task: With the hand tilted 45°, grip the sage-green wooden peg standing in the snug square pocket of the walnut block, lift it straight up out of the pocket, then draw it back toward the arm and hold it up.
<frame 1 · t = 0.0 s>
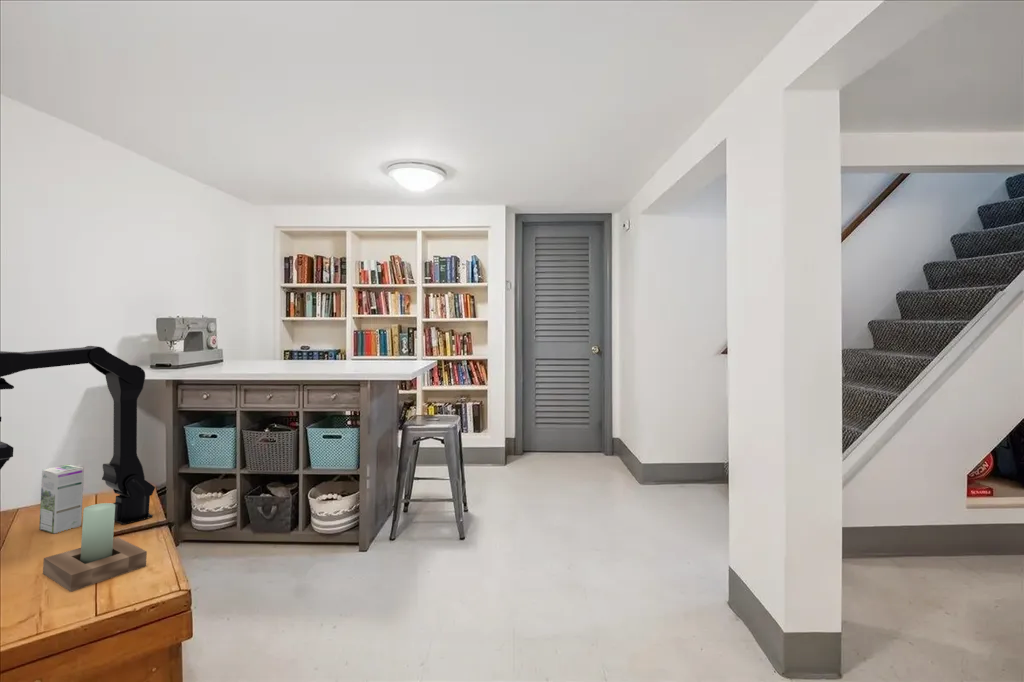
peg: (95, 569, 94), resting on pocket block
syrup box: (60, 528, 113), on the table
pocket block: (95, 572, 94), on the table
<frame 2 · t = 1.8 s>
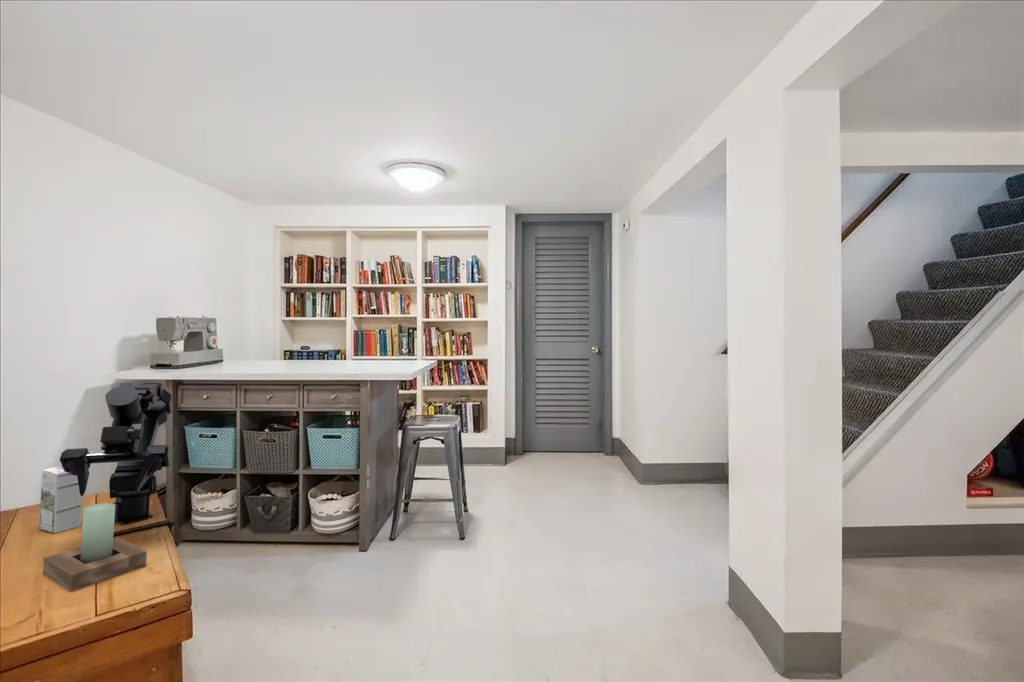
hand: (109, 492, 101), 14 cm above the table, tool tilted 45°, fingers open, 9 cm apart
nothing on the table moved.
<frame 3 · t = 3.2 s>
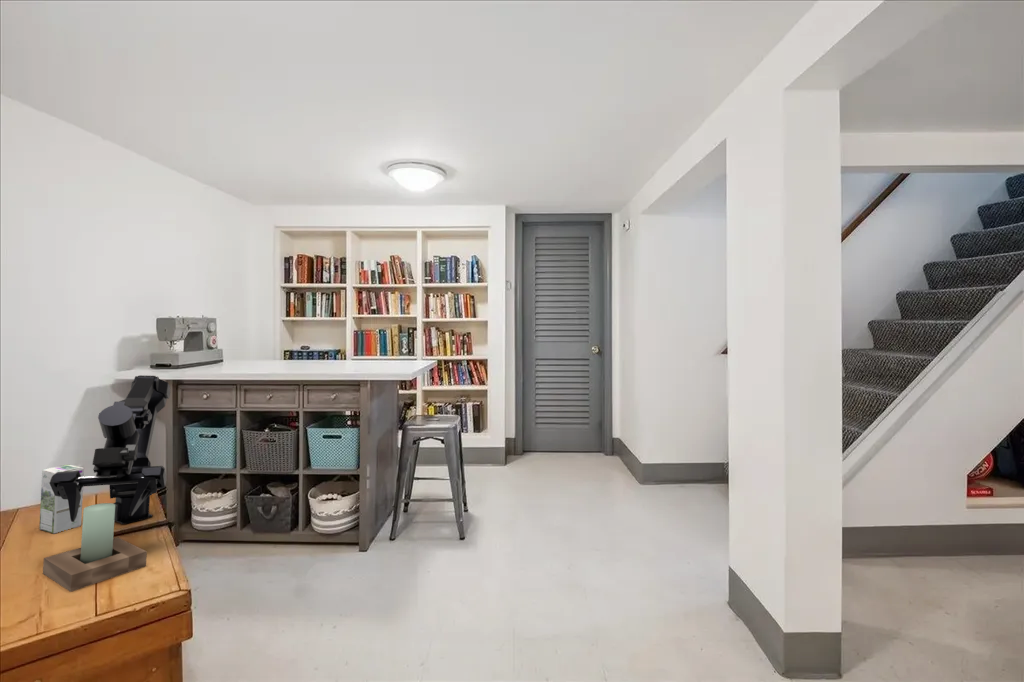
hand: (102, 518, 96), 10 cm above the table, tool tilted 45°, fingers open, 9 cm apart
nothing on the table moved.
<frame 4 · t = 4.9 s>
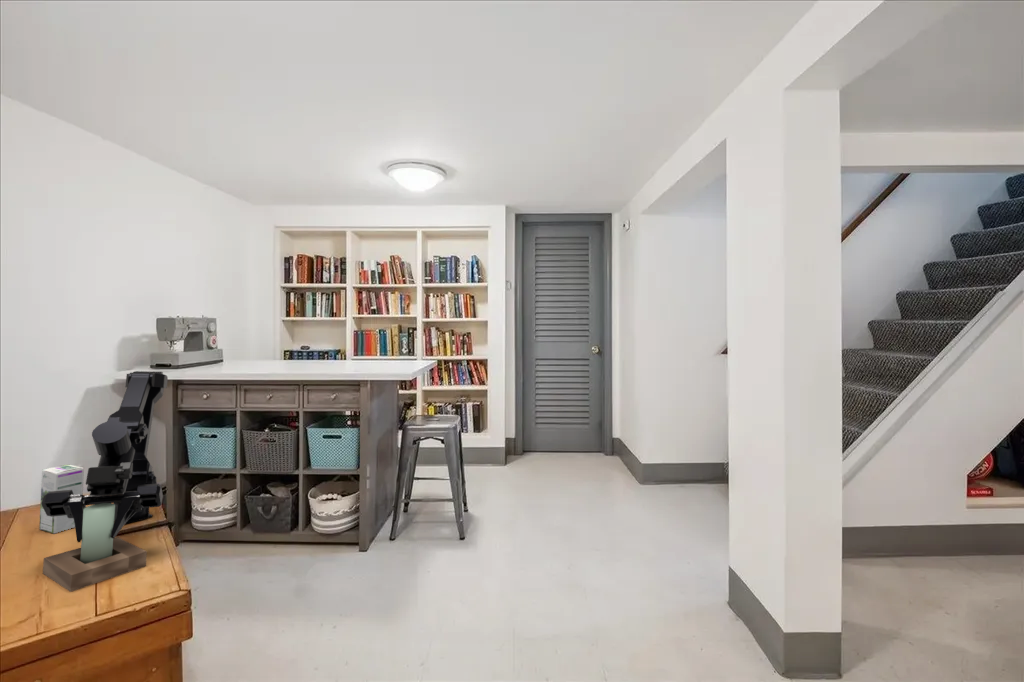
hand: (95, 539, 93), 7 cm above the table, tool tilted 45°, fingers closed on peg, 5 cm apart
peg: (95, 569, 94), resting on pocket block, touching gripper
everything else where it was.
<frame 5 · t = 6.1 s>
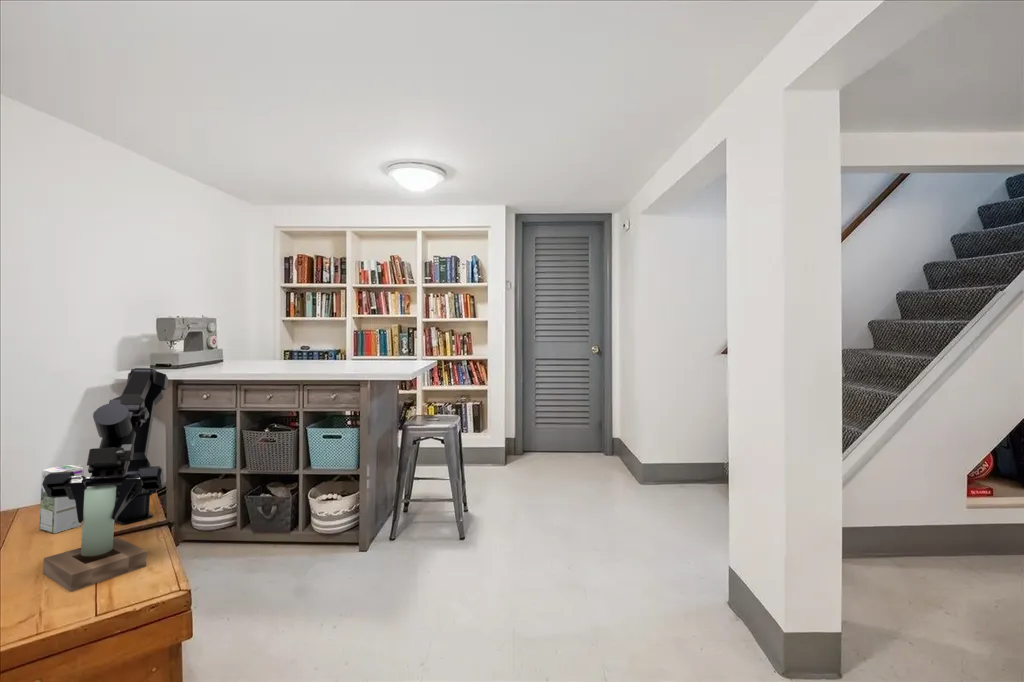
hand: (96, 520, 93), 11 cm above the table, tool tilted 45°, fingers closed on peg, 5 cm apart
peg: (97, 550, 94), point 4 cm above the table, touching gripper
everything else where it was.
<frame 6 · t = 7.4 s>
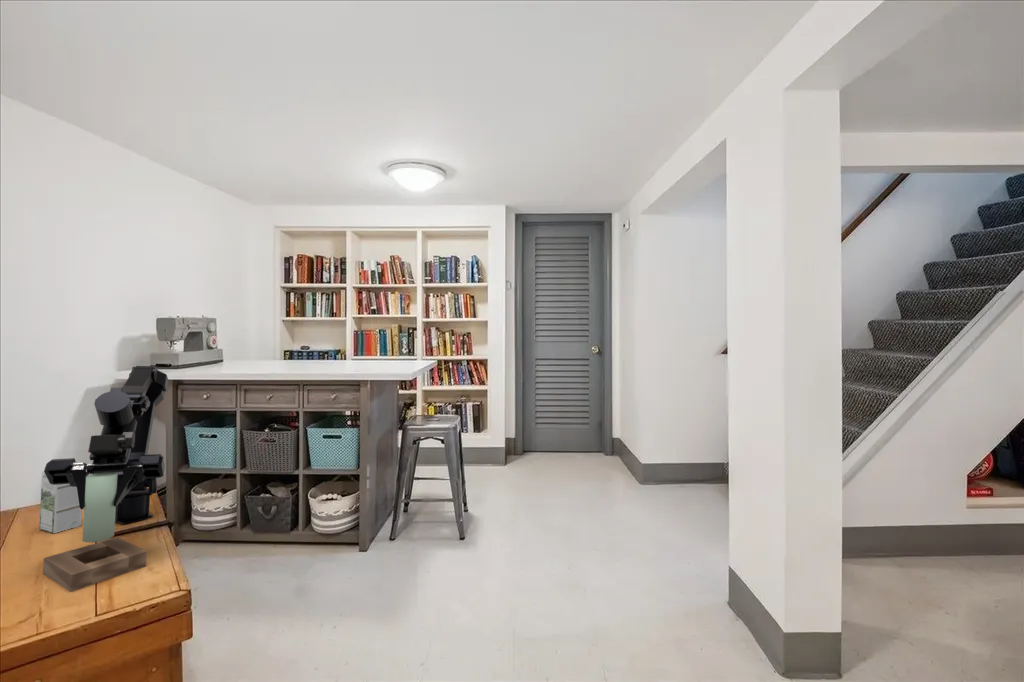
hand: (98, 506, 94), 13 cm above the table, tool tilted 45°, fingers closed on peg, 5 cm apart
peg: (98, 537, 95), point 7 cm above the table, touching gripper
everything else where it was.
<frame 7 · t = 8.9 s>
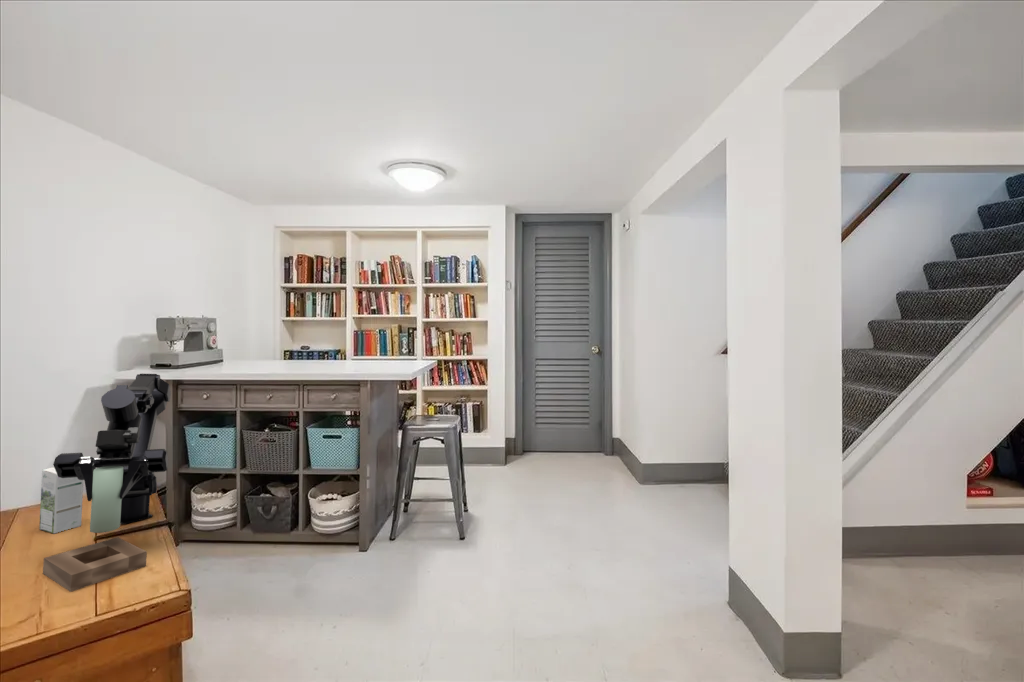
hand: (105, 499, 98), 13 cm above the table, tool tilted 45°, fingers closed on peg, 5 cm apart
peg: (105, 528, 99), point 7 cm above the table, touching gripper
everything else where it was.
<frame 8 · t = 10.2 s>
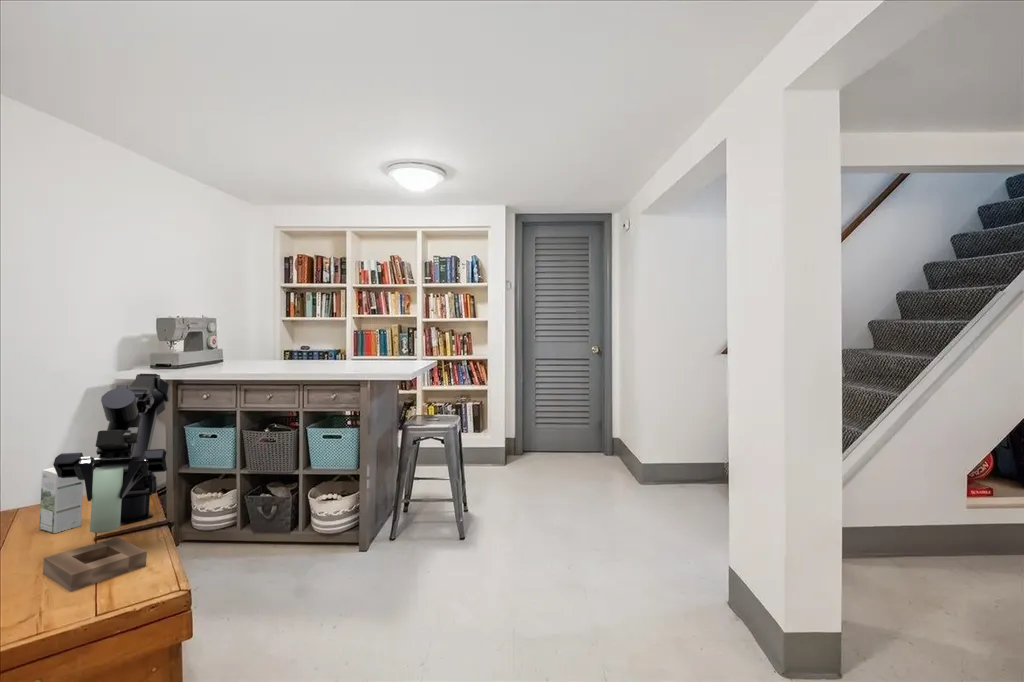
hand: (105, 499, 98), 13 cm above the table, tool tilted 45°, fingers closed on peg, 5 cm apart
peg: (105, 528, 99), point 7 cm above the table, touching gripper
everything else where it was.
at the end: peg point 6.9 cm above the table; the gripper is holding peg; peg touching gripper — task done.
